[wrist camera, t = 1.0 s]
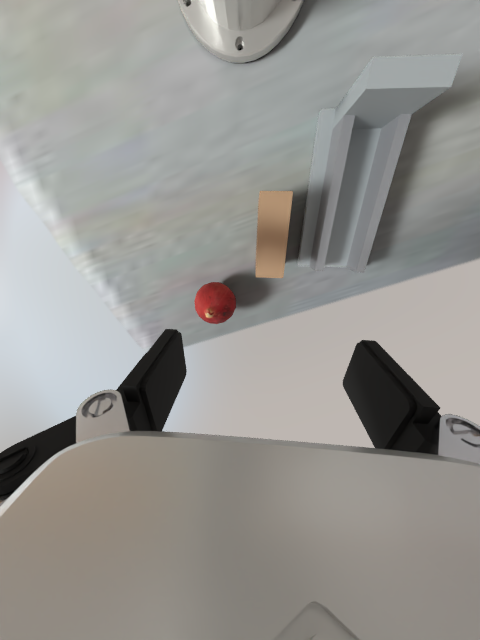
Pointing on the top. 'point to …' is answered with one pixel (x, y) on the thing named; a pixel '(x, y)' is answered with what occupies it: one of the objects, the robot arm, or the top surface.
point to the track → (364, 156)
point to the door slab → (272, 232)
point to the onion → (215, 303)
